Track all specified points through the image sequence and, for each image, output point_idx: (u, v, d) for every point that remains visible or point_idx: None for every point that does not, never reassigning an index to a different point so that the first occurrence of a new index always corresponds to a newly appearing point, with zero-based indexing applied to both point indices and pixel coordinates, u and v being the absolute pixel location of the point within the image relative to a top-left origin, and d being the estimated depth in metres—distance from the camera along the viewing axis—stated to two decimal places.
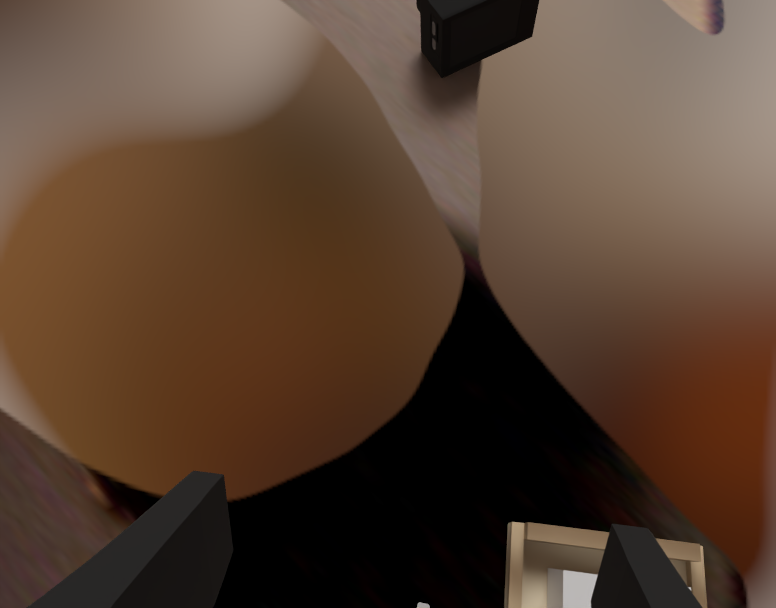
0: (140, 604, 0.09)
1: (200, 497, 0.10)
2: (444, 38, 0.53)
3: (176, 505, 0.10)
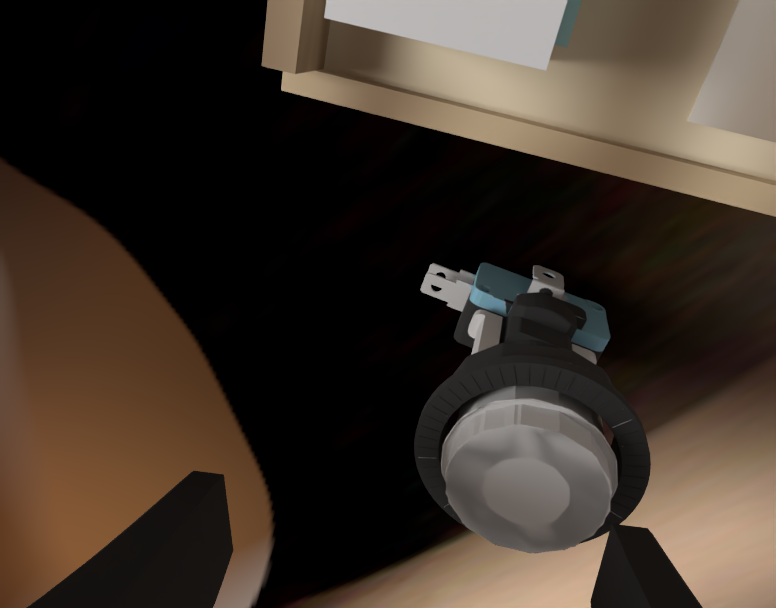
0: (140, 604, 0.09)
1: (200, 497, 0.10)
2: None
3: (176, 505, 0.10)
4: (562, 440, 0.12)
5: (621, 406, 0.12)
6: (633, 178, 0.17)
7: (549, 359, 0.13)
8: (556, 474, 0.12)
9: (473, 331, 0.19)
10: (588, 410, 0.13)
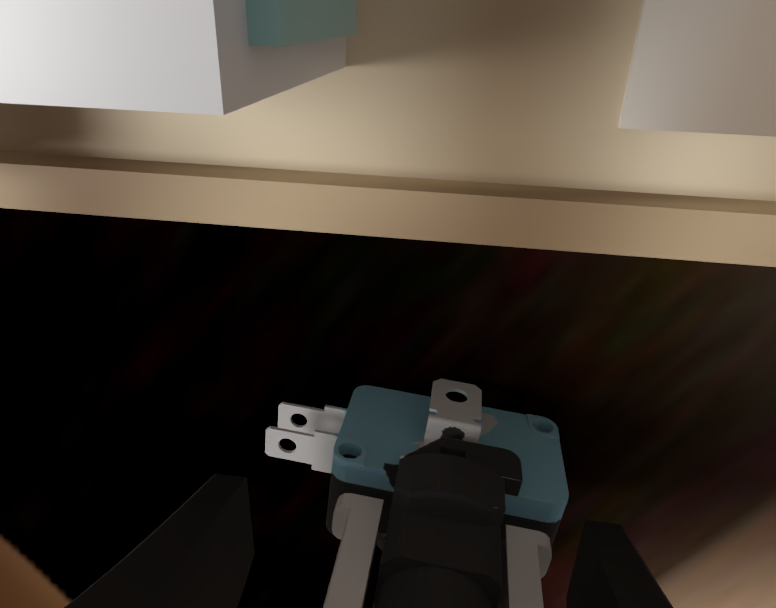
0: None
1: (225, 500, 0.10)
2: None
3: (202, 509, 0.10)
4: None
5: None
6: (544, 246, 0.09)
7: None
8: None
9: (341, 531, 0.11)
10: None
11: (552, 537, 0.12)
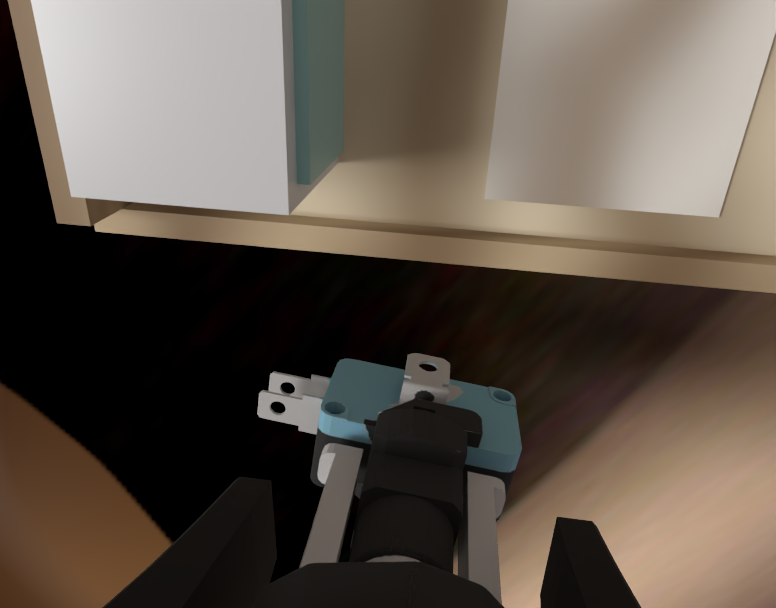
0: None
1: (251, 504, 0.10)
2: None
3: (228, 512, 0.10)
4: None
5: None
6: (445, 261, 0.17)
7: None
8: None
9: (325, 476, 0.13)
10: None
11: (507, 486, 0.13)
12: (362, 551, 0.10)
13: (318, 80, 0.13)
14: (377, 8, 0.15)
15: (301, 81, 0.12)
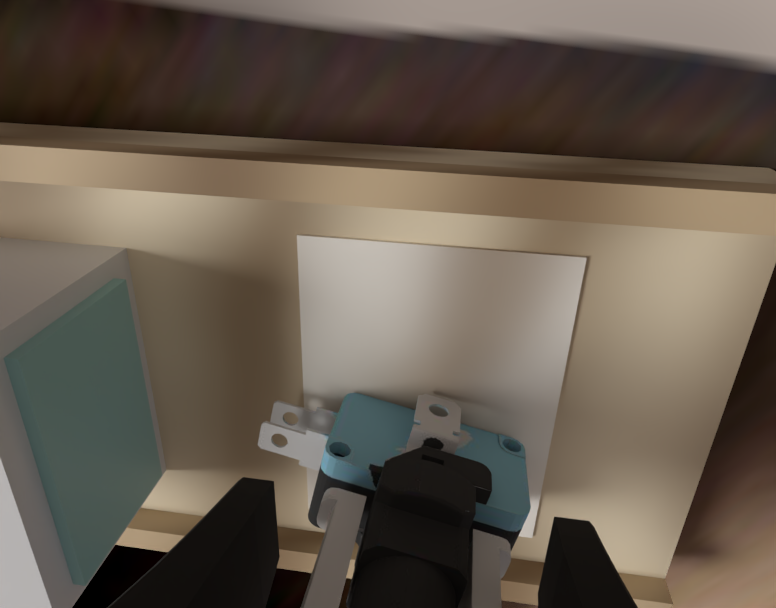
0: None
1: (254, 504, 0.10)
2: None
3: (232, 512, 0.10)
4: None
5: None
6: None
7: None
8: None
9: (324, 521, 0.12)
10: None
11: (512, 545, 0.13)
12: None
13: (89, 488, 0.13)
14: (181, 356, 0.15)
15: (58, 515, 0.12)
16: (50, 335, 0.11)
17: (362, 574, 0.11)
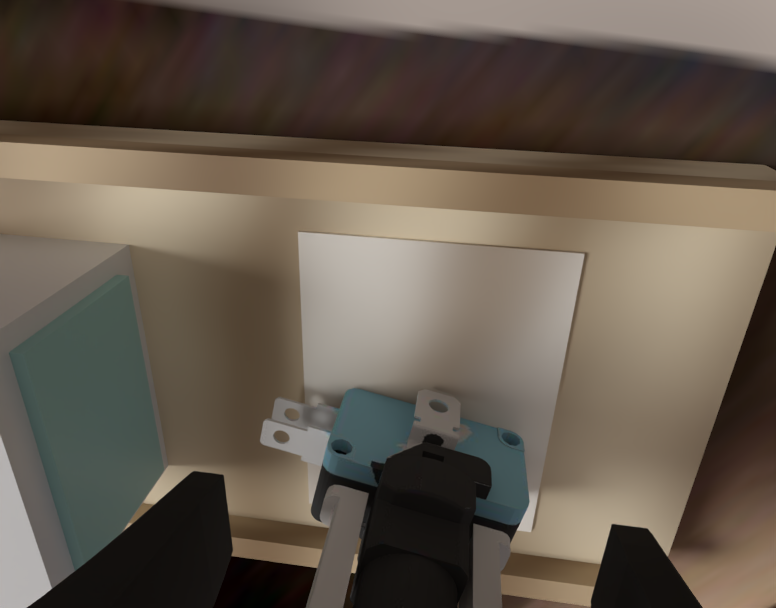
0: (140, 604, 0.09)
1: (200, 497, 0.10)
2: None
3: (176, 505, 0.10)
4: None
5: None
6: (273, 560, 0.17)
7: None
8: None
9: (328, 518, 0.13)
10: None
11: (511, 538, 0.13)
12: None
13: (93, 483, 0.13)
14: (183, 352, 0.16)
15: (62, 508, 0.12)
16: (54, 330, 0.12)
17: (366, 571, 0.11)
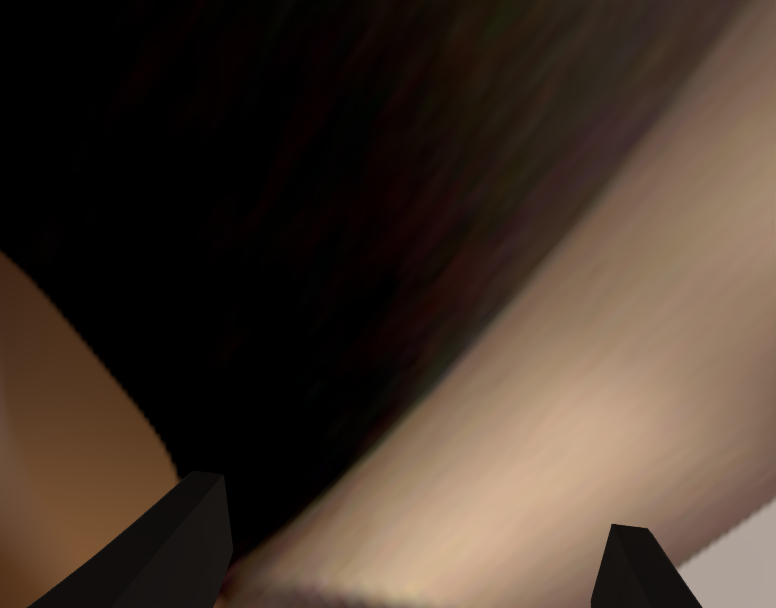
0: (140, 604, 0.09)
1: (200, 497, 0.10)
2: None
3: (176, 505, 0.10)
4: None
5: None
6: None
7: None
8: None
9: None
10: None
11: None
12: None
13: None
14: None
15: None
16: None
17: None
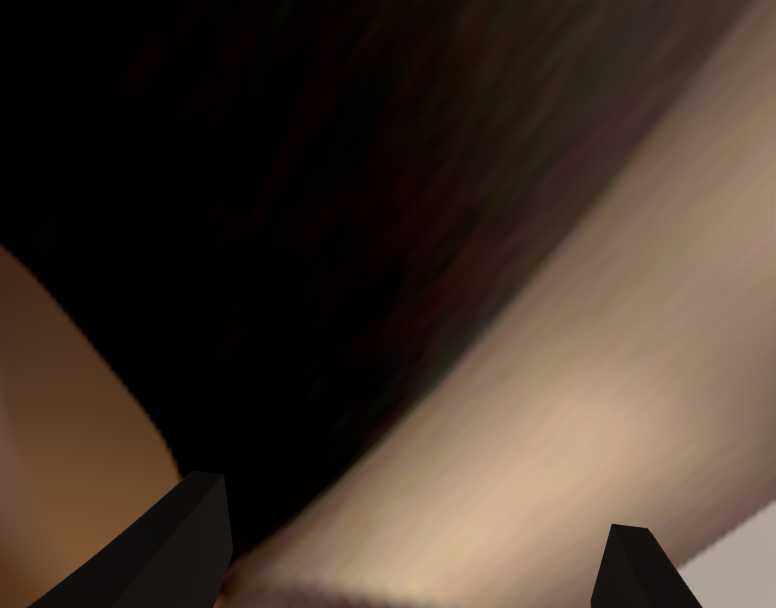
0: (140, 604, 0.09)
1: (200, 497, 0.10)
2: None
3: (176, 505, 0.10)
4: None
5: None
6: None
7: None
8: None
9: None
10: None
11: None
12: None
13: None
14: None
15: None
16: None
17: None
